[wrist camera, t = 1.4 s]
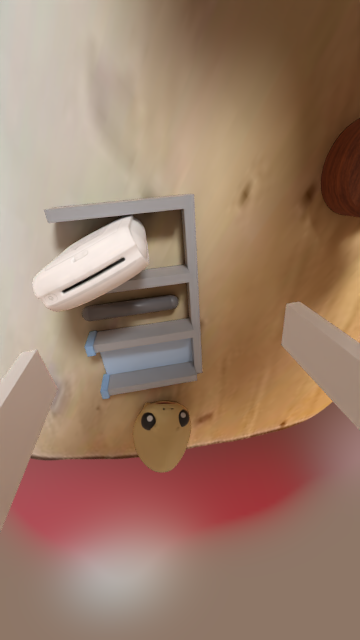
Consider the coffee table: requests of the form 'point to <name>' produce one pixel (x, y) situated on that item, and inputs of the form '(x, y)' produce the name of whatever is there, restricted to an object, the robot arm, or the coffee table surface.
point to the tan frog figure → (161, 434)
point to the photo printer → (93, 265)
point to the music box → (343, 173)
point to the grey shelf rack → (146, 308)
